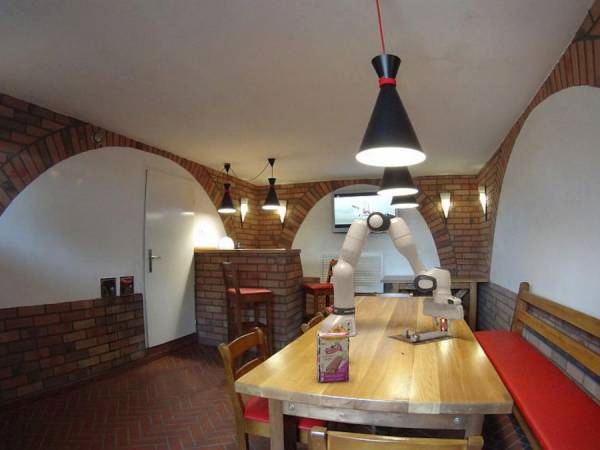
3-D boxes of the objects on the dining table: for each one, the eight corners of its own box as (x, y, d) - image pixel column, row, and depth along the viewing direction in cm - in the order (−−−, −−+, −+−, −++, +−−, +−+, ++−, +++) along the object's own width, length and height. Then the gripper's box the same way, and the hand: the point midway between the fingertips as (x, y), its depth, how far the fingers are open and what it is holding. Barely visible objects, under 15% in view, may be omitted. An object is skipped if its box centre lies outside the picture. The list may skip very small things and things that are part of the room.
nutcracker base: (415, 348, 172) (414, 336, 173) (386, 339, 189) (386, 328, 189) (457, 340, 186) (456, 329, 186) (427, 332, 203) (427, 322, 203)
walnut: (412, 340, 182) (412, 332, 182) (406, 338, 185) (406, 330, 186) (418, 339, 184) (418, 331, 184) (412, 337, 187) (412, 329, 188)
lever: (415, 342, 175) (415, 324, 176) (409, 340, 179) (409, 323, 179) (449, 335, 188) (449, 319, 188) (443, 334, 191) (443, 317, 191)
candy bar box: (319, 383, 130) (318, 336, 131) (316, 378, 135) (316, 332, 136) (349, 381, 132) (349, 335, 133) (346, 376, 137) (345, 331, 138)
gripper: (420, 297, 195) (420, 324, 194) (459, 301, 180) (460, 330, 180) (426, 296, 199) (426, 322, 199) (464, 300, 185) (465, 328, 184)
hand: (442, 326), depth 189 cm, fingers open, 4 cm apart
